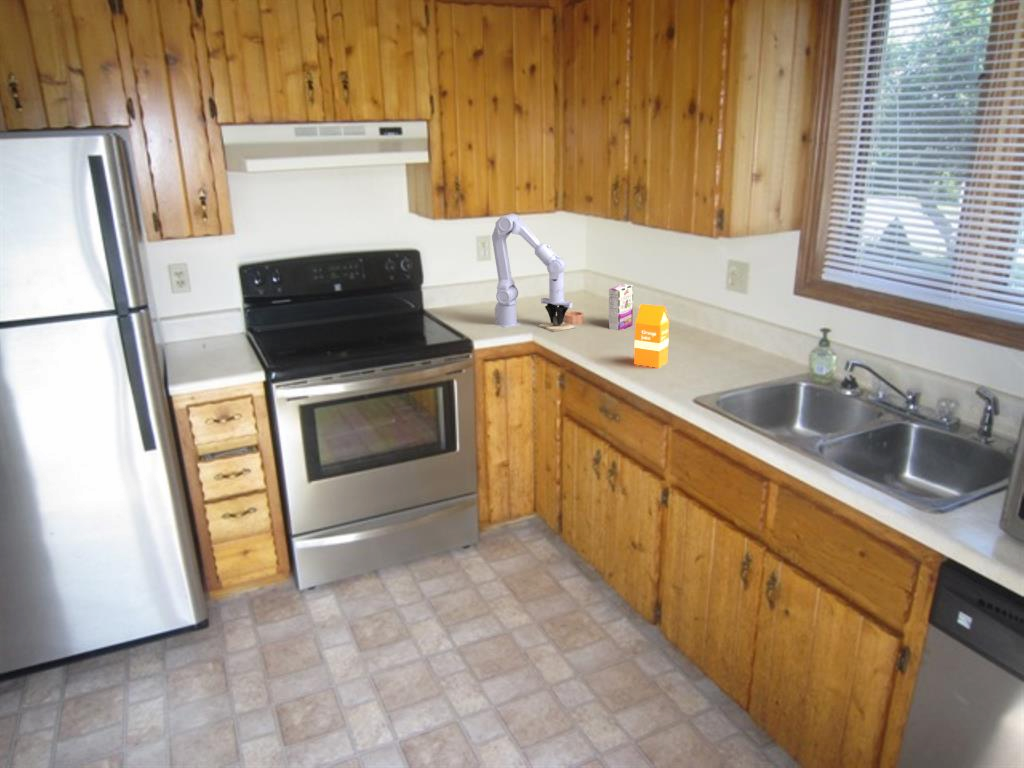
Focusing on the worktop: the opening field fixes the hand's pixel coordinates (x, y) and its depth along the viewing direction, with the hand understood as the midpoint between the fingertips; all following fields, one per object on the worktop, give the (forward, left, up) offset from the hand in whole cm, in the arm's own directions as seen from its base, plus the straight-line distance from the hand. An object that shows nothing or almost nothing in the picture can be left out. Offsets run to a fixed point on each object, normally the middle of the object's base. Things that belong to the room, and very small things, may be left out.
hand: (556, 323), depth 294 cm
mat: (0, 0, -2) cm, 2 cm away
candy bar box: (+14, +21, -2) cm, 25 cm away
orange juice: (+57, -1, -2) cm, 57 cm away
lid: (0, 0, -2) cm, 2 cm away
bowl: (-3, +10, -2) cm, 11 cm away
